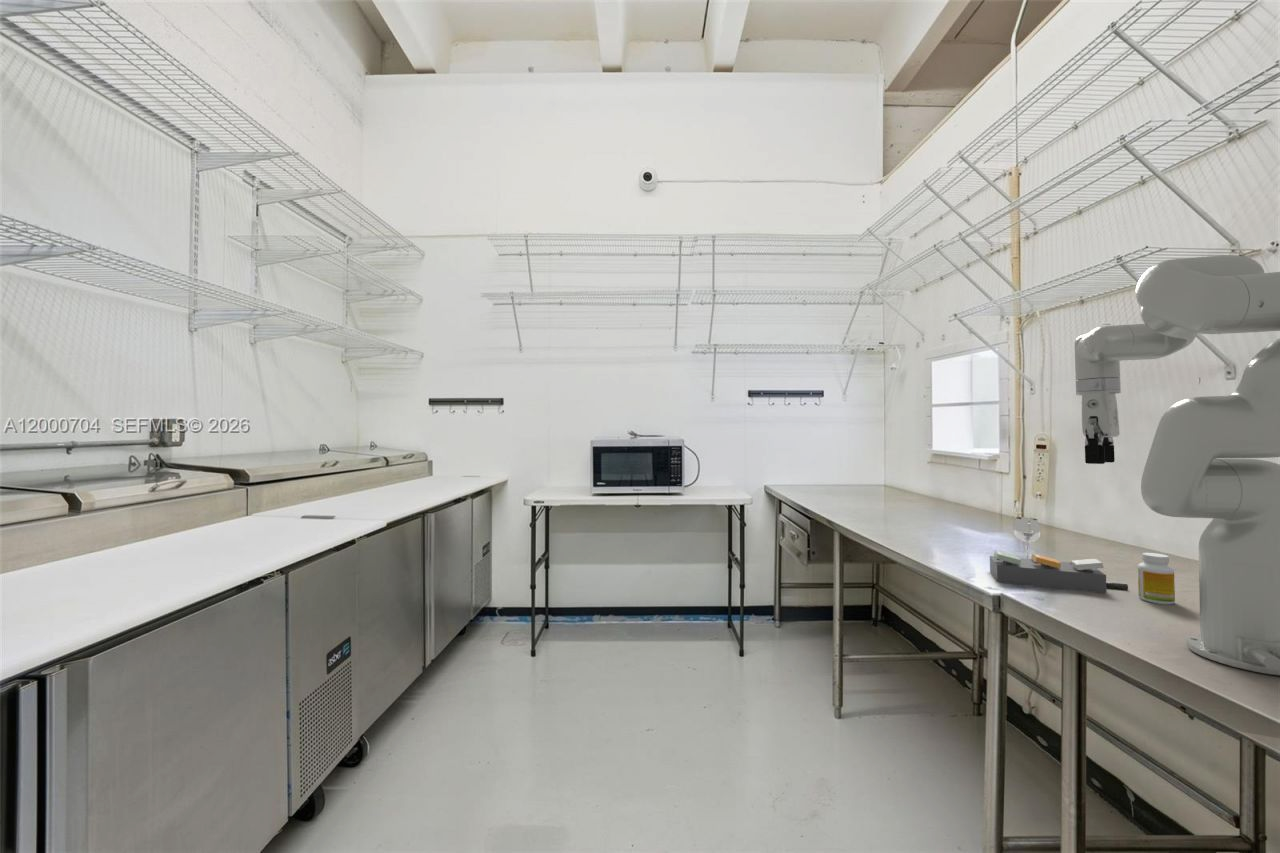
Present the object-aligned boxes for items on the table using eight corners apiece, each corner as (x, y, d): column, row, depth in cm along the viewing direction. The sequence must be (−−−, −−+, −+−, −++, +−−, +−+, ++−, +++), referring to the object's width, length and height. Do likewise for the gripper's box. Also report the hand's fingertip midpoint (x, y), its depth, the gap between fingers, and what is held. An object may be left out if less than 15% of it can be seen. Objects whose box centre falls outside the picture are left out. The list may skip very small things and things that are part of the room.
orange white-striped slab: (1059, 568, 116) (1061, 563, 116) (1035, 562, 118) (1036, 557, 118) (1054, 564, 120) (1056, 559, 119) (1031, 558, 122) (1032, 553, 121)
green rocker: (1019, 564, 119) (1021, 559, 119) (996, 558, 121) (997, 553, 121) (1016, 560, 123) (1017, 555, 123) (993, 555, 125) (994, 550, 125)
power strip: (1136, 596, 109) (1136, 575, 109) (997, 581, 120) (996, 563, 120) (1118, 583, 118) (1117, 564, 118) (990, 571, 129) (989, 554, 129)
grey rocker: (1103, 568, 112) (1101, 562, 113) (1077, 570, 114) (1076, 564, 115) (1097, 563, 116) (1095, 558, 116) (1072, 565, 118) (1070, 560, 118)
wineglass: (1017, 558, 141) (1016, 516, 141) (1043, 562, 137) (1042, 518, 137) (1011, 562, 138) (1010, 518, 138) (1037, 566, 133) (1036, 521, 133)
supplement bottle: (1182, 605, 103) (1181, 558, 103) (1151, 604, 104) (1150, 557, 104) (1161, 597, 108) (1160, 552, 108) (1131, 595, 109) (1130, 551, 110)
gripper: (1111, 383, 106) (1114, 464, 106) (1127, 388, 117) (1130, 462, 116) (1066, 386, 112) (1068, 463, 111) (1085, 391, 123) (1087, 461, 122)
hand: (1100, 462), depth 114 cm, fingers open, 9 cm apart
